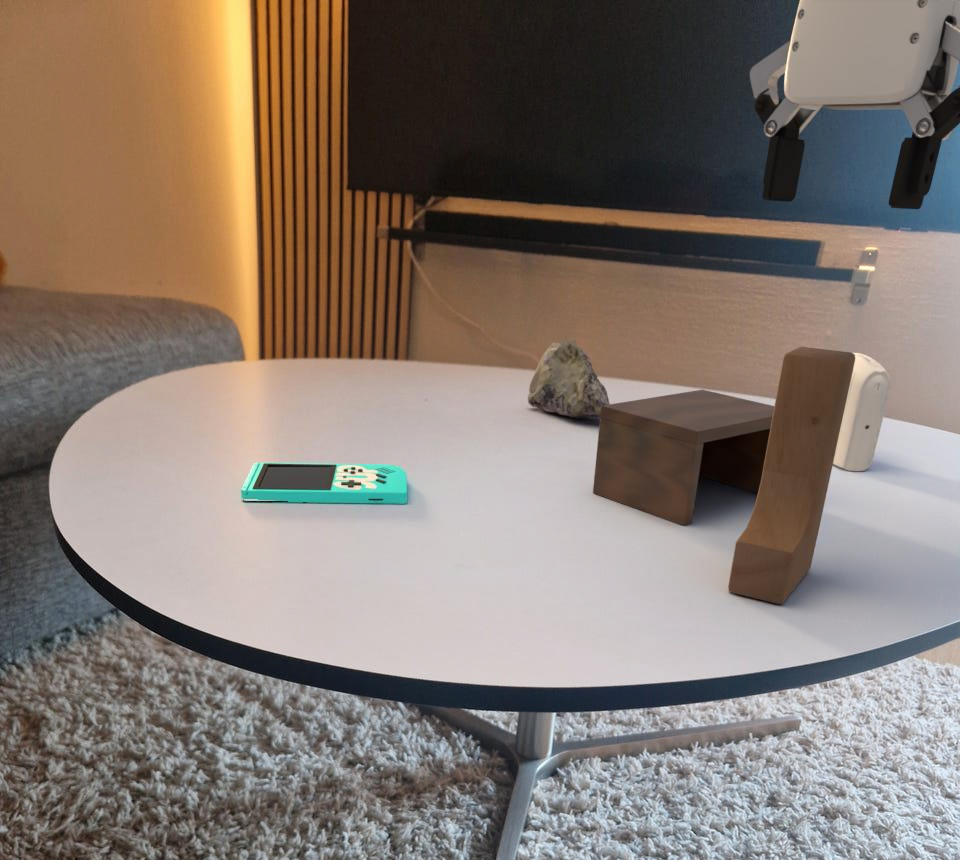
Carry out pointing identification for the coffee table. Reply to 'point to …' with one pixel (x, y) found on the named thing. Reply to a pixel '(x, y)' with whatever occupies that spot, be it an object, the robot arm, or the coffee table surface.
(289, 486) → the handheld game console
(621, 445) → the shelf
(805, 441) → the wooden block
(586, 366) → the mineral rock
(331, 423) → the coffee table surface
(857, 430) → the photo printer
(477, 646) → the coffee table surface
